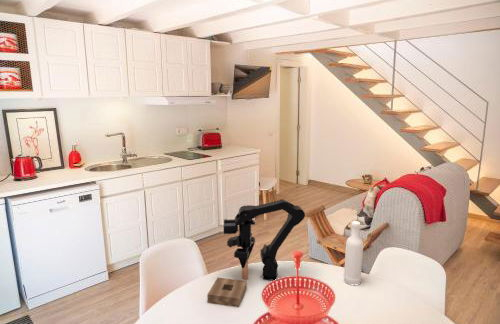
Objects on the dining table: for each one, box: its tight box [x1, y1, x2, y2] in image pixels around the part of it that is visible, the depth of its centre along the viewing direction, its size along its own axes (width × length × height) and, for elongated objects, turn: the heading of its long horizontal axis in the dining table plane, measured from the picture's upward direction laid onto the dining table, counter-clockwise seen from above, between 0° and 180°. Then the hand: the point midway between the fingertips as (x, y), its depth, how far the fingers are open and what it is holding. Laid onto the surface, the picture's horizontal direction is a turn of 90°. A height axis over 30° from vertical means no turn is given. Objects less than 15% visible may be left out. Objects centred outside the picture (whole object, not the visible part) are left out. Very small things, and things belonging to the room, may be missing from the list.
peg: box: [241, 259, 249, 281], centre depth 161 cm, size 3×3×10 cm
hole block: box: [206, 276, 248, 308], centre depth 147 cm, size 14×14×4 cm
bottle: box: [343, 220, 364, 286], centre depth 157 cm, size 8×8×30 cm
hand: (245, 263), depth 161 cm, fingers open, 9 cm apart
